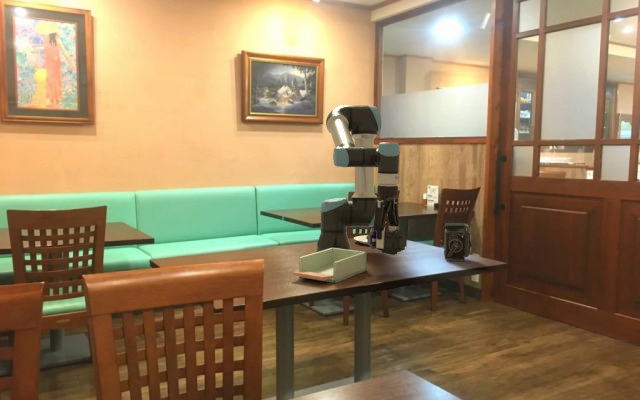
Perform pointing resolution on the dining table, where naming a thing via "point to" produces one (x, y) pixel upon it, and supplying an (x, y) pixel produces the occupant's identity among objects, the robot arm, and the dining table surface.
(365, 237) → the plate
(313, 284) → the dining table surface
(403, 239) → the toy
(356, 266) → the tray
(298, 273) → the panel
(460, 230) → the camera
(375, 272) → the dining table surface
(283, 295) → the dining table surface
